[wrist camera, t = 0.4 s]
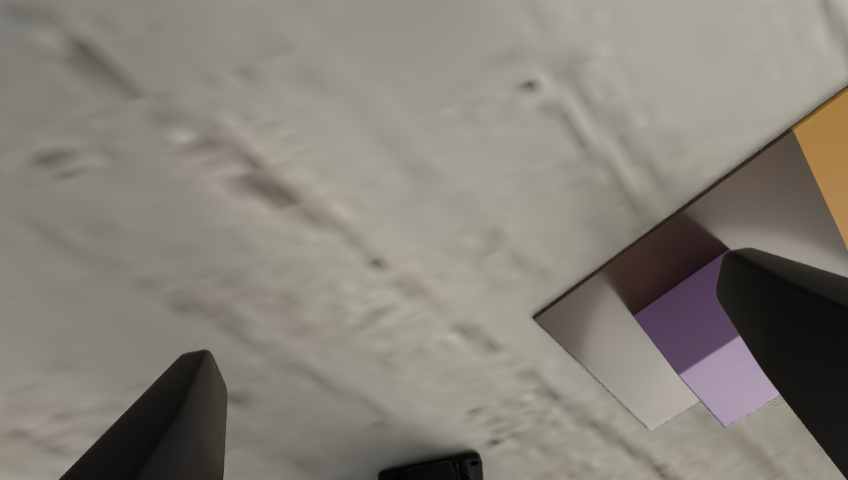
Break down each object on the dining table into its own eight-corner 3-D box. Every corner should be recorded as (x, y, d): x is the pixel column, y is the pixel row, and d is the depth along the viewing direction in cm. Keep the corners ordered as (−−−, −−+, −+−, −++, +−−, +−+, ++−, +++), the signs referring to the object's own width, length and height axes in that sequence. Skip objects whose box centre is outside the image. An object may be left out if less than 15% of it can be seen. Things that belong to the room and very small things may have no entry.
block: (678, 367, 32) (725, 428, 28) (632, 315, 29) (677, 375, 26) (768, 309, 31) (830, 365, 27) (729, 247, 28) (792, 300, 24)
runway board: (649, 429, 35) (650, 431, 35) (532, 317, 29) (533, 319, 28) (865, 293, 32) (868, 295, 32) (789, 128, 25) (792, 130, 25)
